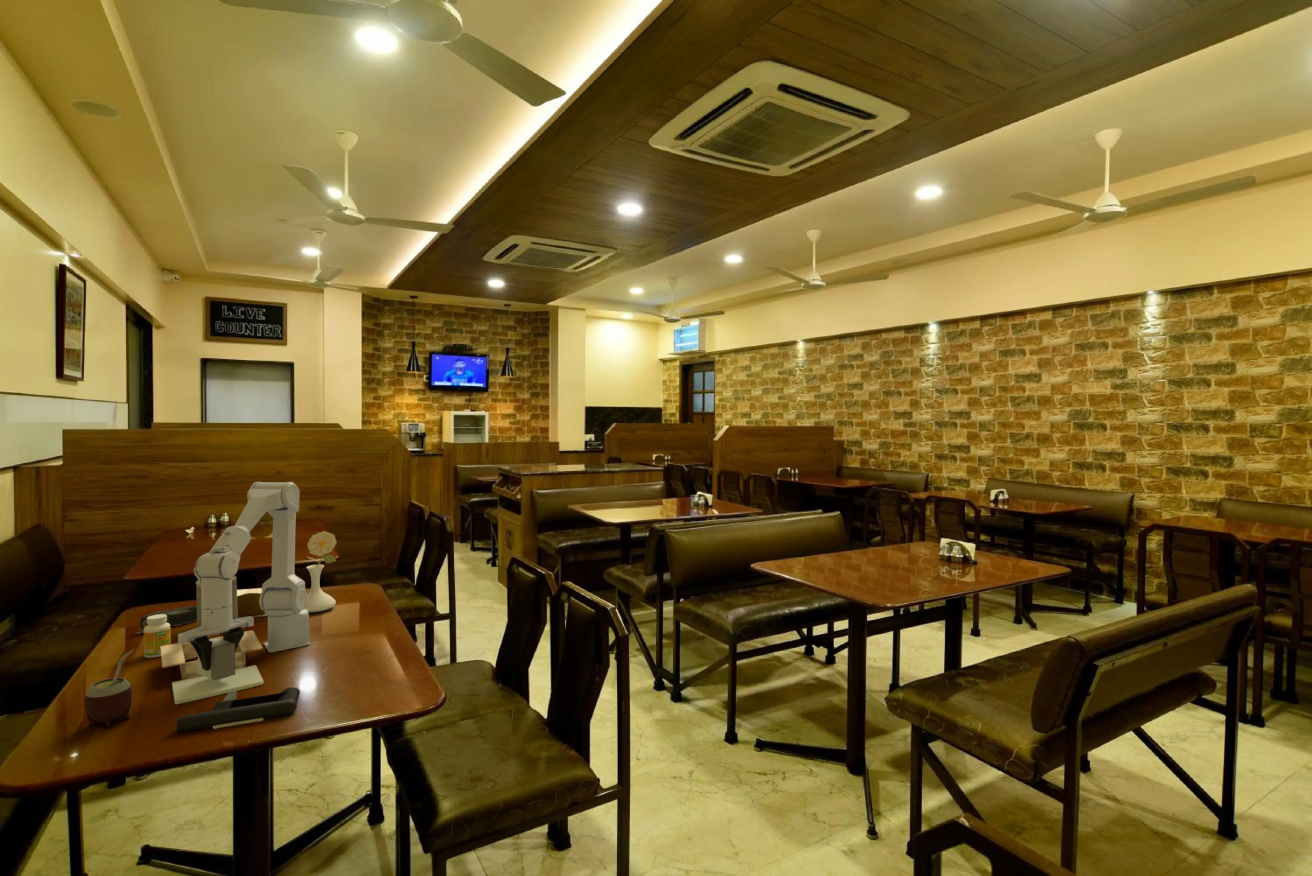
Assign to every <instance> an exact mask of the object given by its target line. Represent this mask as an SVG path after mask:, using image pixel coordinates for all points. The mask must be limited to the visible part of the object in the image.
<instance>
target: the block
mask: <svg viewBox="0 0 1312 876" xmlns="http://www.w3.org/2000/svg"><path fill="white" fill-rule="evenodd" d="M213 638H214V639H212V638H209V639H210V641H212V642H213V643H212V648H211V655H210V658H211V667H210V670H208V671H206V670H204V669H202V665H201V661H200V659H199V656H198V658H197V661H198V674H200V675H203V676H205V677H208V678H210V679H213V680H215V681H217V680H220V679H223V678H226V677H229V676H232V675H235V653H236V652H235V644H234V643H231V642H228V641H225V640H222V639H219V638H218V637H213Z"/></svg>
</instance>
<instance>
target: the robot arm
mask: <svg viewBox="0 0 1312 876" xmlns="http://www.w3.org/2000/svg"><path fill="white" fill-rule="evenodd" d="M246 495H247V497H246V498H247V503H246V505H245V506H244V508H243V510H242V512H241V513H240V515H239V517H238V519H237V521H236V522H235V524H234V525H231V526H228V527H226V529H225V530H224V531H223V532H222V534H221V535H220V536H219V538H218V539H217V540H216V542H215V543H214V545H213V546H212V548H211V549H210V550H209V552H206V553H204V554H202V555H200V556H199V557H198V558H197V560H196V562H195V564H194V565H195V566H194V568H193V572H194V576H195V577H196V578H197V581H198V585H199V587H201V611H202V626H201V627H198V628H197V627H195V628H192V629H190V630H186V631H184V632H180V633H178V634H177V643H180V644H185V643H191V645H192V646H193V647H194V649H195V650H196V652H197V654H198V656H199V659H200V661H201V665H202V669H204V670H206V671H208V670H210V667H211V658H210V655H211V648H212V643H213V642H212V641H210V640H209V639H210V637H211V636H216V635H220V634H222V635H221V636H222V637H223V640H225V641H228V642H231V643H234V644H235V653H236V649H237V647H238V644H239V642H240V641H241V639H242V637H243V636H244V632H245V630H244V629H243V628H246V627H248V628H249V627H250V628H251V627H253V626H254V625H255V624H254V623H255V622H254V621H255V620H254V617H252V616H244V617H238V619H232V577H233V576H236V574H237V572H238V571H239V570H238V569H239V564H240V561H241V555H242V553H243V552H244V551H245V549H246V548H247V546H248V545H249V543H250V541H251V540H252V536H251V534H250V532H251V531H252V530H253V529H254V527H255V526H256V525H257V524H258V522H259V521H260V520H261V518H262V517H263V516H264V515H265V514H266V512H267V513H268V514H269V515H270V517H272V543H271V544H272V545H271V547H272V548H271V549H272V550H271V551H272V552H271V577H270V578H268V579H267V580H266V581H264V583H262V585H261V587H262V588H261V592H260V595H259V598H258V604H259V607H260V609H261V610H262V611H263V612H264V615H265V616H267V641H265V642H264V643H263V644H264V647H265V648H266V651H267V652H268V653H275V652H280V651H286V650H291V649H295V648H300V647H305V646H306V647H307V646H310V645H311V642H310V613H309V612H308V610H307V609H303V607H304V606H305V604H306V601H307V594H308V592H307V590H306V581H304V580H303V579H302V578H300V577H299V576H297V575H296V573H295V560H296V559H295V557H296V525H297V524H296V519H297V518H296V516H297V514H296V513H297V512H299V510H300V488H299V487H298V486H297V484H295V482H293V481H288V482H284V481H282V482H276V481H275V482H271V481H270V482H269V481H266V482H264V481H263V482H262V481H255V482H253V483H252V485H251V486H250V487H249V490H248V491H247V494H246ZM208 637H209V638H208Z"/></svg>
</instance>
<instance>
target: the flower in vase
mask: <svg viewBox="0 0 1312 876" xmlns="http://www.w3.org/2000/svg"><path fill="white" fill-rule="evenodd" d="M336 545H337V540H336V536H335V534H333V533H331V532H328V531H322V532H317V533H316V534H313V535H312V536H311V537H309V541H308V542H307V547H308V550H309V553H310V554H311V555H313V556H317V557H321V559H320V561H318V560H317V559H314V558H313V557H309V556H308V555H306V557H307V558H308V559H310V560H312V561H315V562H316V563H317V564H311V565H308V566H306V570H308V572H309V574H310V580H311V583H310V584H311V586H310V590H309V592H307V601H306V604H305V606H304V607H303V609H307V610H308V613H317V612H323V611H327V610H329V609H331V608H333V607H334V606H335V605H336V603H337V601H336V600H335V599H334V598H333V596H331V595H329V594H328V593H326V592H324V591H323V590H322V588H321V586H320V585H321V584H320V579H321V573H322V571H323V568H324V567H325V565H324V564H321V562H322V560H323V561H324V562H325V563H326V564H331V563H334V562H337V560H336V558H335V557H334V556H333V555H331V554H329V553H331V552H332V551H333V549H334V548H335V547H336ZM326 554H327V555H326Z"/></svg>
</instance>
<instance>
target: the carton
mask: <svg viewBox="0 0 1312 876" xmlns="http://www.w3.org/2000/svg"><path fill="white" fill-rule="evenodd" d="M214 638H215V637H212V638H209V640H210V639H214ZM217 638H219V639H222V640H223V636H219V637H217ZM160 649H161V656H160V658H161V664H162V665H161V666H162V669H163V668H164V669H165V668H170V667H175V666H176V667H177V666H179V670H180V675H181V680H186V679H191V678H195V677H200V676H203V675H200V674H198V660H194V661H192V660H193V659H197V658H196V657H198V654H197V652H196V650H195V649H194V647H193V646H192V645H191V643H190V642H188V643H185V644H180V643H178V642H177V643H172V644H171V645H166V646H160ZM259 650H263V646H262V645H261V643H260V640H259V639H258V638H257V635H256V633H255V631H254V630H246V631H244V636H243V637H242V639H241V641H240V642H239V644H238V647H237V649H236V652H235V669H239V668H244V667H247V666H246V663H247V662H246V660H247V659H246V658H247V657H246V653H247V652H254V651H259ZM192 658H193V659H192ZM186 660H191V661H188V662H186Z"/></svg>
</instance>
